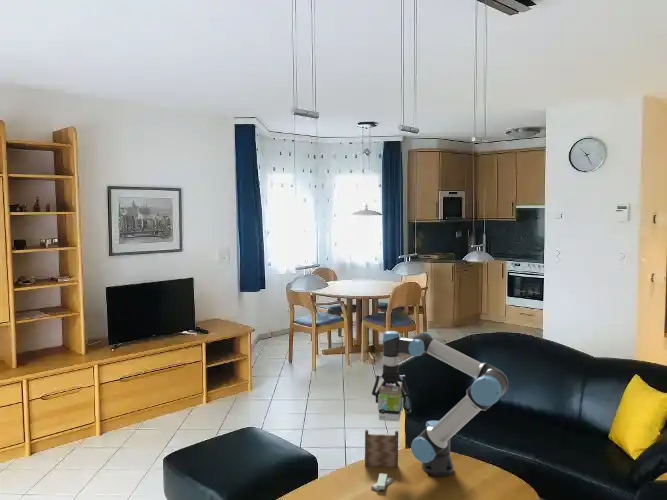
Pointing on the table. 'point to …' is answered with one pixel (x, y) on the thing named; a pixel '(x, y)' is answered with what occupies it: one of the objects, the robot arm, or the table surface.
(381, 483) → the sage painted offcut
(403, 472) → the table surface
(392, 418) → the tea box
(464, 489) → the table surface
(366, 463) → the rack
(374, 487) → the grey board offcut
